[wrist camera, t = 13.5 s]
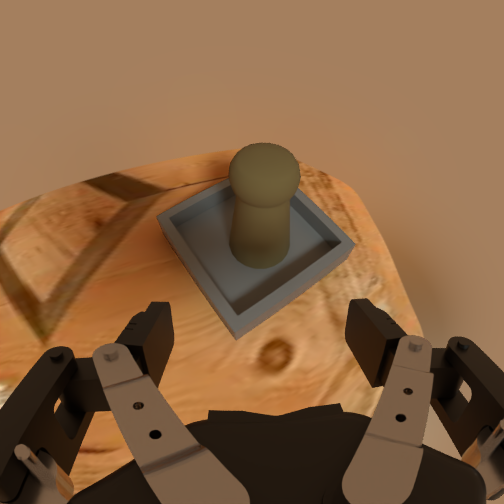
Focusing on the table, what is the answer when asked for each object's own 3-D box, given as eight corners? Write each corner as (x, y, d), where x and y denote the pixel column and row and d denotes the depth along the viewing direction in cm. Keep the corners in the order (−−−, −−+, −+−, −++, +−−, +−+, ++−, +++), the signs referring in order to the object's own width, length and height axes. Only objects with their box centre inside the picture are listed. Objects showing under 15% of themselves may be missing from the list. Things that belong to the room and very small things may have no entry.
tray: (236, 340, 24) (234, 332, 21) (163, 232, 29) (156, 216, 27) (346, 259, 28) (355, 244, 25) (265, 178, 34) (266, 160, 31)
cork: (259, 208, 30) (264, 122, 20) (302, 242, 28) (326, 159, 18) (216, 241, 28) (203, 156, 18) (259, 281, 26) (267, 203, 16)
